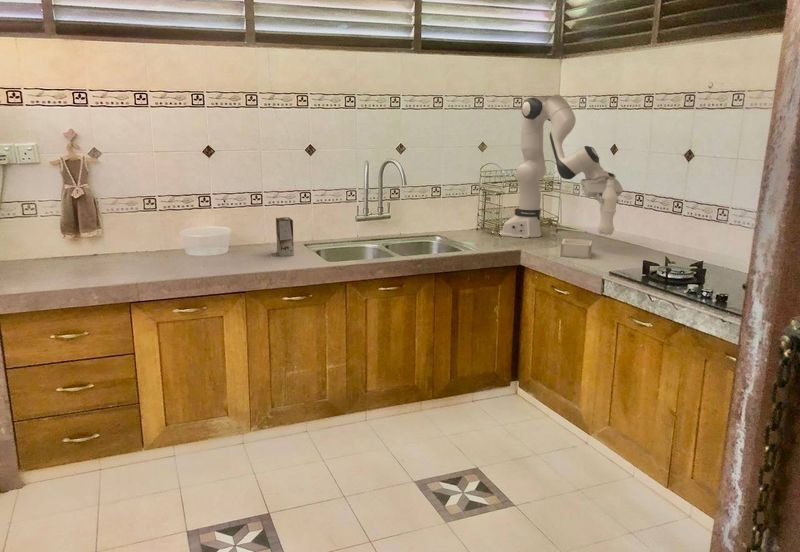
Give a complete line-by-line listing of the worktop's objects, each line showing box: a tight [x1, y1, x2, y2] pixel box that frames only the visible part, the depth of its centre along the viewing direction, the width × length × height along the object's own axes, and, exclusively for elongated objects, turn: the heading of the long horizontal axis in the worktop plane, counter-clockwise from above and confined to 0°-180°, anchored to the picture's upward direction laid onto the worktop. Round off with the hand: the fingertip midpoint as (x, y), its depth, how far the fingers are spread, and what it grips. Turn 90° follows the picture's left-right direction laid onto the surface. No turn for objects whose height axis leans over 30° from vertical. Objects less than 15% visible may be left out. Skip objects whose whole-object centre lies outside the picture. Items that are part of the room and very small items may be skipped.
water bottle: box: [597, 180, 617, 236], centre depth 295 cm, size 7×7×25 cm
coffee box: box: [275, 216, 295, 257], centre depth 289 cm, size 9×6×16 cm
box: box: [559, 237, 593, 260], centre depth 295 cm, size 13×13×6 cm
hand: (609, 202), depth 294 cm, fingers closed on water bottle, 7 cm apart
